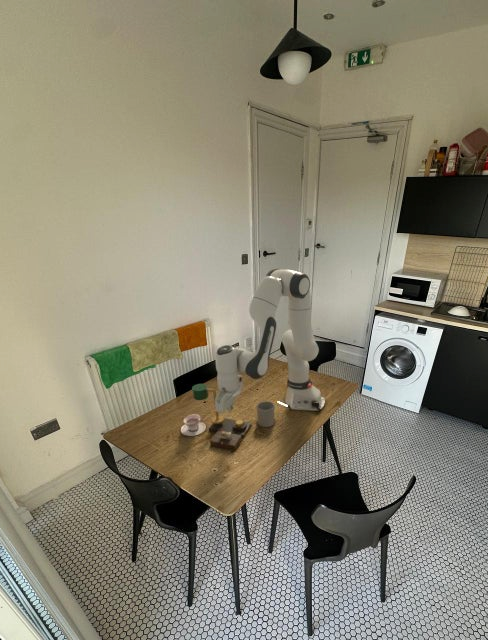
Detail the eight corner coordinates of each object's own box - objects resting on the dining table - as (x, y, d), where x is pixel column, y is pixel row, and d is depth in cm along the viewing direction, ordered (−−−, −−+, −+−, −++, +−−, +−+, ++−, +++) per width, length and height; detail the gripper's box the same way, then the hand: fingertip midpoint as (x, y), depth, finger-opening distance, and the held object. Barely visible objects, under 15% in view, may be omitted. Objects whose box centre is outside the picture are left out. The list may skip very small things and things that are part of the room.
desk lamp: (226, 417, 160) (223, 387, 151) (220, 425, 154) (216, 394, 145) (201, 412, 163) (196, 382, 154) (194, 420, 157) (189, 389, 148)
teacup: (197, 439, 150) (195, 428, 147) (175, 433, 154) (173, 422, 151) (210, 425, 160) (209, 414, 157) (190, 420, 163) (188, 409, 160)
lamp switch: (244, 423, 156) (244, 420, 155) (241, 427, 153) (241, 424, 152) (237, 422, 157) (237, 419, 156) (234, 426, 154) (234, 423, 153)
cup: (276, 419, 165) (276, 403, 159) (270, 428, 158) (270, 411, 153) (261, 416, 167) (260, 400, 162) (255, 425, 160) (254, 408, 155)
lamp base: (251, 425, 160) (251, 420, 158) (243, 437, 151) (243, 431, 150) (218, 419, 164) (217, 414, 162) (209, 431, 156) (208, 425, 154)
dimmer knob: (231, 437, 146) (231, 432, 145) (230, 439, 145) (229, 434, 143) (221, 435, 148) (221, 430, 146) (220, 437, 146) (219, 432, 145)
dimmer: (242, 439, 150) (242, 434, 149) (234, 451, 143) (233, 446, 141) (219, 434, 153) (218, 429, 152) (210, 446, 146) (209, 441, 144)
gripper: (224, 396, 128) (226, 424, 135) (244, 374, 145) (245, 400, 152) (209, 393, 129) (213, 421, 137) (231, 372, 146) (233, 398, 153)
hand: (230, 410), depth 144 cm, fingers closed
